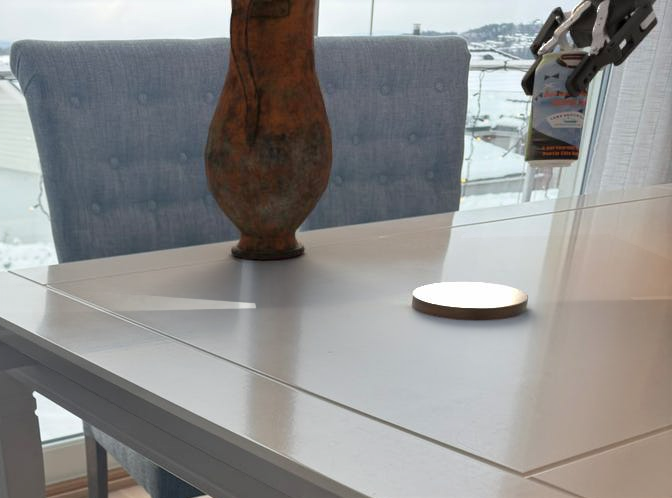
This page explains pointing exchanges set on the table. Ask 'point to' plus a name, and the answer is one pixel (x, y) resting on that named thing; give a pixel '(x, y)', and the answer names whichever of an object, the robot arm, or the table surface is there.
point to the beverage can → (555, 113)
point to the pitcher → (269, 128)
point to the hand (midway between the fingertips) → (547, 90)
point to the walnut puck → (469, 301)
